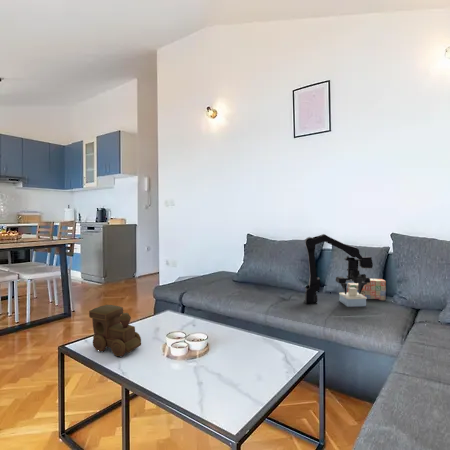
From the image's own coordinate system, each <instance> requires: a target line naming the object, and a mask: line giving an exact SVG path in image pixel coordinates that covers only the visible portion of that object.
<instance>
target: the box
mask: <svg viewBox="0 0 450 450" xmlns="http://www.w3.org/2000/svg"><path fill="white" fill-rule="evenodd" d="M339 302H340V303H342V304H343V305H344V306H345V307H367V299H346V298H345V297H343V296H342V295H340V294H339Z"/></svg>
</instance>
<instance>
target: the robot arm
mask: <svg viewBox="0 0 450 450" xmlns="http://www.w3.org/2000/svg"><path fill="white" fill-rule="evenodd" d="M323 242H325V243H327V244H329V245H331V246H333V247H335V248H337V249H340V250H341V251H342V252H345V253H346V254H347V256H346V257H344V260H345V261H347V268H346V271H347V275H346V277H344V276H336V277H335V282H336V283H338V284H340V285H341V289H342V290H343V292H344V293H345V294H346V293H347V287H348V283H347V282H353V283H358V292H359V294H360V293H361V291H362V289H363V287H364V285H366V284H367V283H370V279H371V277H368V276H367V275H366V274H365V273H362V274H360V270H359V267H360V268H361V269H373V268H374V267H373V265H374V262H373V260H372V259H373V258H372V256H362V254H361V253H360V249H359V248H357V247H356V246H353V245H350V244H346V243H343V242H341V241H339V240H337V239H335V238H332V237H330V236H328V235H326V234H324V233H323V234H321V235H317V236H312V237H311V236H309V237H306V238H305V239H304V245H305V248H306V251H307V257H308V267H309V268H308V269H309V270H308V271H309V279H308V285H306V286H305V287H304V289H305V291H304V300H303V302H304V303H305V304H306V305H317V304H318V295H317V292H318V291H320V287H321V279H320V277H319V276H318V277H317V267H316V257H315V254H316V251H315V250H316V245H319V244H321V243H323ZM349 256H350V257H349Z"/></svg>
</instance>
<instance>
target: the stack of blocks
mask: <svg viewBox="0 0 450 450" xmlns="http://www.w3.org/2000/svg"><path fill="white" fill-rule="evenodd" d="M386 284H387V281H386V280H385V279H383V278H370V283H367V284H366V285H364V287H363V289H362V291H361V293H360V294H362V295H363V296H365V297H367V299H366V300H379V301H386V293H387V285H386ZM352 287H354V288H356V289H357V292H358V283H354V282H347V287H346V291H347V292H348V288H352ZM358 293H359V292H358Z"/></svg>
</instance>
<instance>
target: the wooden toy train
mask: <svg viewBox="0 0 450 450" xmlns="http://www.w3.org/2000/svg"><path fill="white" fill-rule="evenodd" d="M88 314H89V315H88V318H91V319H92V330H93V336H92V337H93V340H92V346H93V348H94V349H95V350H96V351H97V350H99V351H103V352H104V351H105V350H106V349H107V348H108V349H111V352H112V354H113V355H114V356H115V355H116V356H115V357H117V356H122V357H124V355H125V354H126V353H130V352H132V351H134V350H135V349H138V348H139V347H141V346H142V337H141V335H140V334H139V333H138V332H137V331H136V326H134V325H131V324H130V322H131V320H132V316H131V315H130V314H129V313H128V312H124V307H122V306H119V305H114V304H105V305H100V306H97V307H94V308H92V309H91V310H89V311H88Z"/></svg>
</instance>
